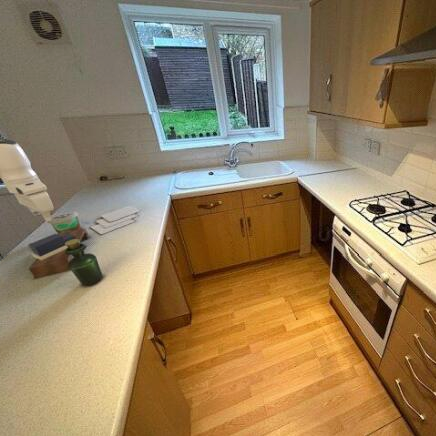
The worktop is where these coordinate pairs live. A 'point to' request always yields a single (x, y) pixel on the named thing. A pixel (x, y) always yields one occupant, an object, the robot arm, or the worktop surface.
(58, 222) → the food container
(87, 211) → the worktop surface
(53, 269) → the wooden serving board
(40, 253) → the navy stepped box
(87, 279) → the potion bottle
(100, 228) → the paper stack
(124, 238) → the worktop surface
